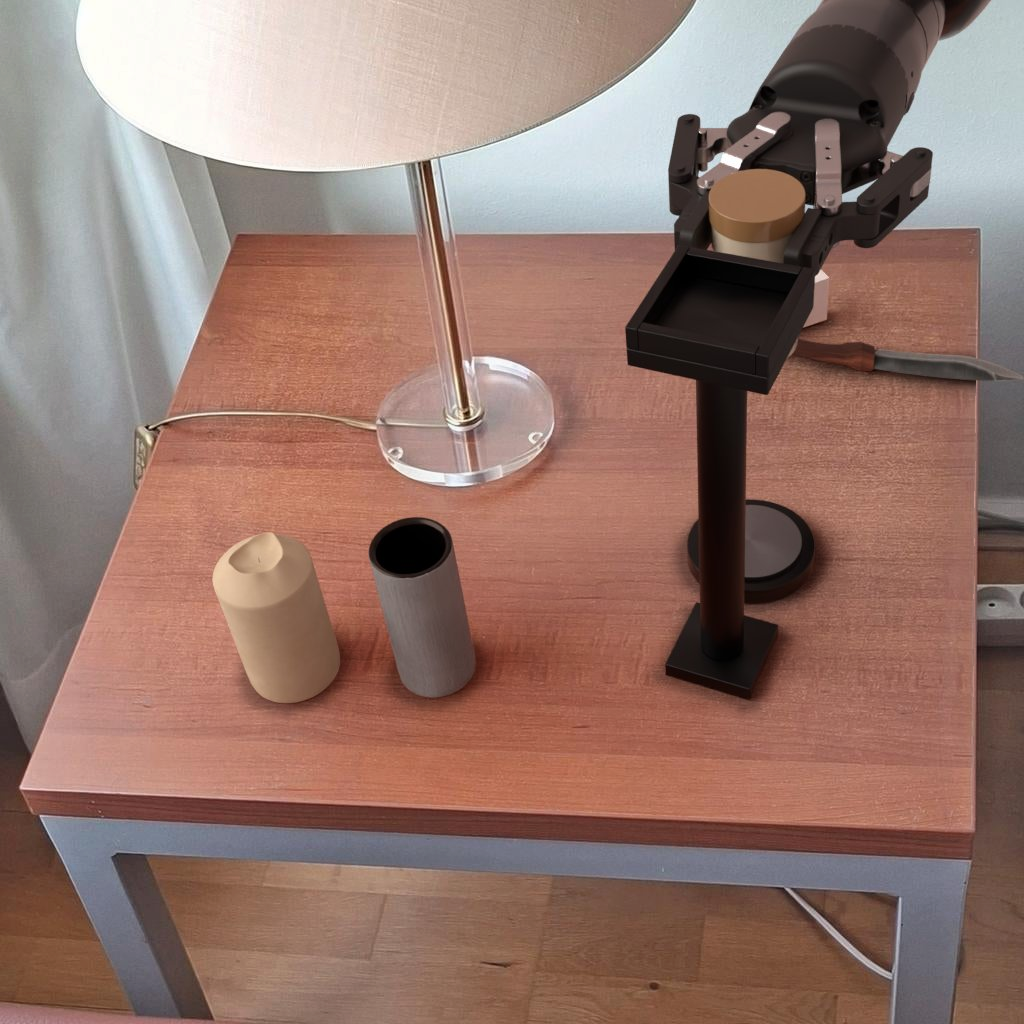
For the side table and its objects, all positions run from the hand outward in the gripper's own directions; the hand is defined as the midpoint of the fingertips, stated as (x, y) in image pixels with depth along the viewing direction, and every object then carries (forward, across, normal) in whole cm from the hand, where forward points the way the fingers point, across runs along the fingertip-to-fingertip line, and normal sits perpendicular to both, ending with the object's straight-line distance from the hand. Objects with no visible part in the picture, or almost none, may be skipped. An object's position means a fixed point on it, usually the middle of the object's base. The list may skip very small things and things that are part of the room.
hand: (738, 260), depth 68 cm
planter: (+12, -14, +24) cm, 30 cm away
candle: (+15, -22, +24) cm, 36 cm away
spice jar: (-3, 0, +7) cm, 7 cm away
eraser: (-25, -4, +24) cm, 34 cm away
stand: (+5, +1, +23) cm, 24 cm away
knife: (-21, +3, +23) cm, 31 cm away
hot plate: (-2, 0, +24) cm, 24 cm away
